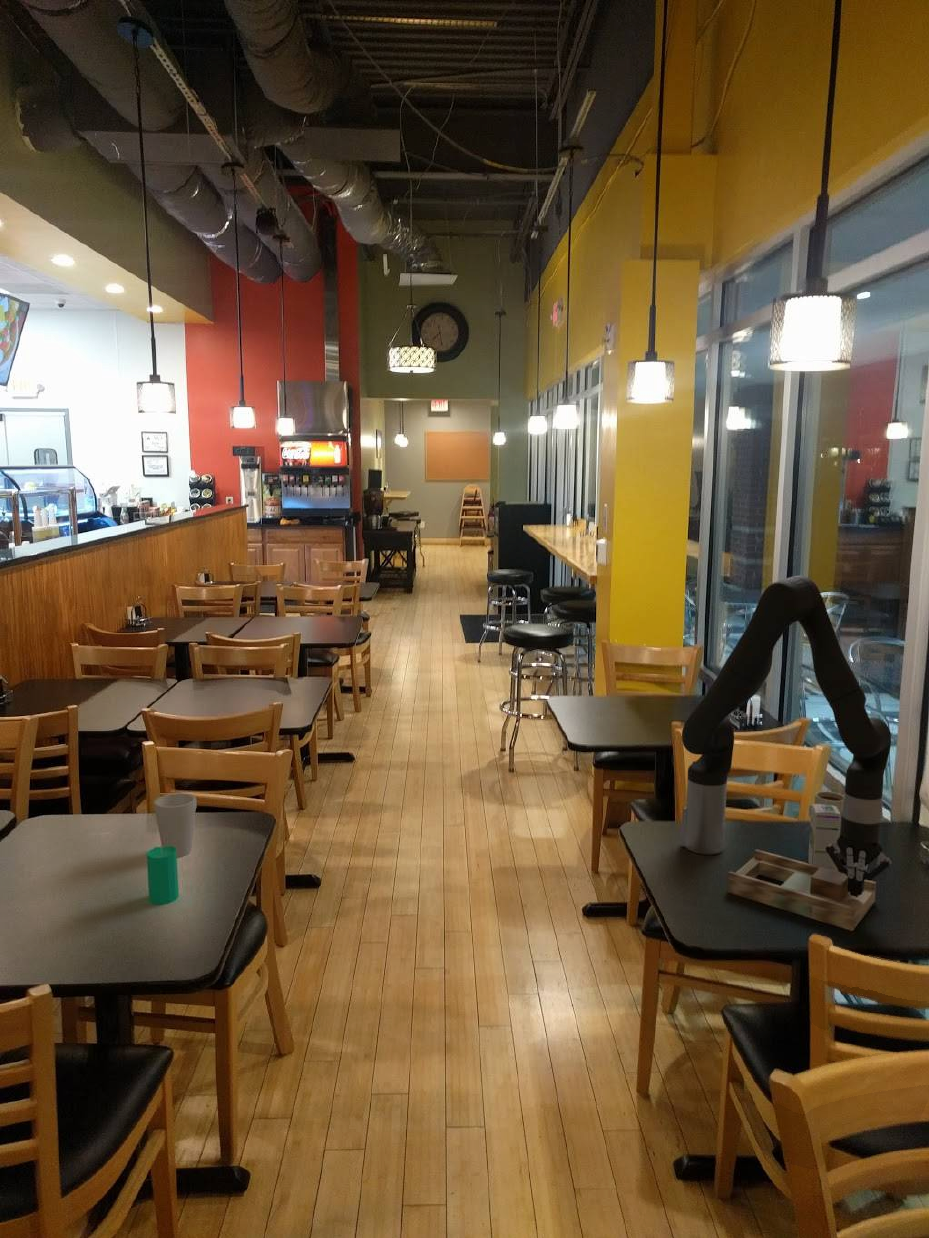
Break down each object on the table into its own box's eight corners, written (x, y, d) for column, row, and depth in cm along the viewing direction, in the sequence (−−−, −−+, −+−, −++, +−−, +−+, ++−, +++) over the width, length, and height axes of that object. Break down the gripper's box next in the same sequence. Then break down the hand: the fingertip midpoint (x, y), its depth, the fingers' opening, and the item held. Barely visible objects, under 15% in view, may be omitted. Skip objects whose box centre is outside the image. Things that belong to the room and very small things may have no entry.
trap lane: (727, 892, 192) (728, 872, 191) (755, 867, 204) (756, 849, 204) (852, 931, 176) (854, 909, 175) (874, 901, 188) (876, 881, 187)
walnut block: (809, 892, 186) (811, 876, 185) (819, 882, 190) (820, 867, 190) (839, 901, 182) (840, 885, 181) (848, 890, 186) (849, 875, 186)
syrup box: (838, 874, 201) (843, 813, 199) (810, 871, 202) (815, 811, 200) (833, 863, 207) (837, 804, 204) (806, 861, 208) (810, 802, 205)
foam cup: (206, 850, 211) (204, 798, 209) (175, 863, 204) (172, 810, 202) (179, 841, 216) (177, 790, 214) (148, 854, 209) (145, 801, 207)
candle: (184, 893, 189) (182, 840, 187) (166, 906, 184) (163, 852, 182) (161, 889, 191) (158, 836, 189) (142, 901, 185) (139, 847, 184)
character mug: (815, 854, 212) (818, 802, 210) (798, 842, 219) (801, 792, 217) (855, 850, 214) (859, 799, 212) (837, 839, 221) (841, 789, 219)
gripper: (822, 812, 181) (816, 892, 184) (891, 828, 173) (884, 911, 176) (833, 802, 187) (827, 879, 190) (901, 817, 179) (894, 897, 181)
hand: (855, 894), depth 183 cm, fingers closed
